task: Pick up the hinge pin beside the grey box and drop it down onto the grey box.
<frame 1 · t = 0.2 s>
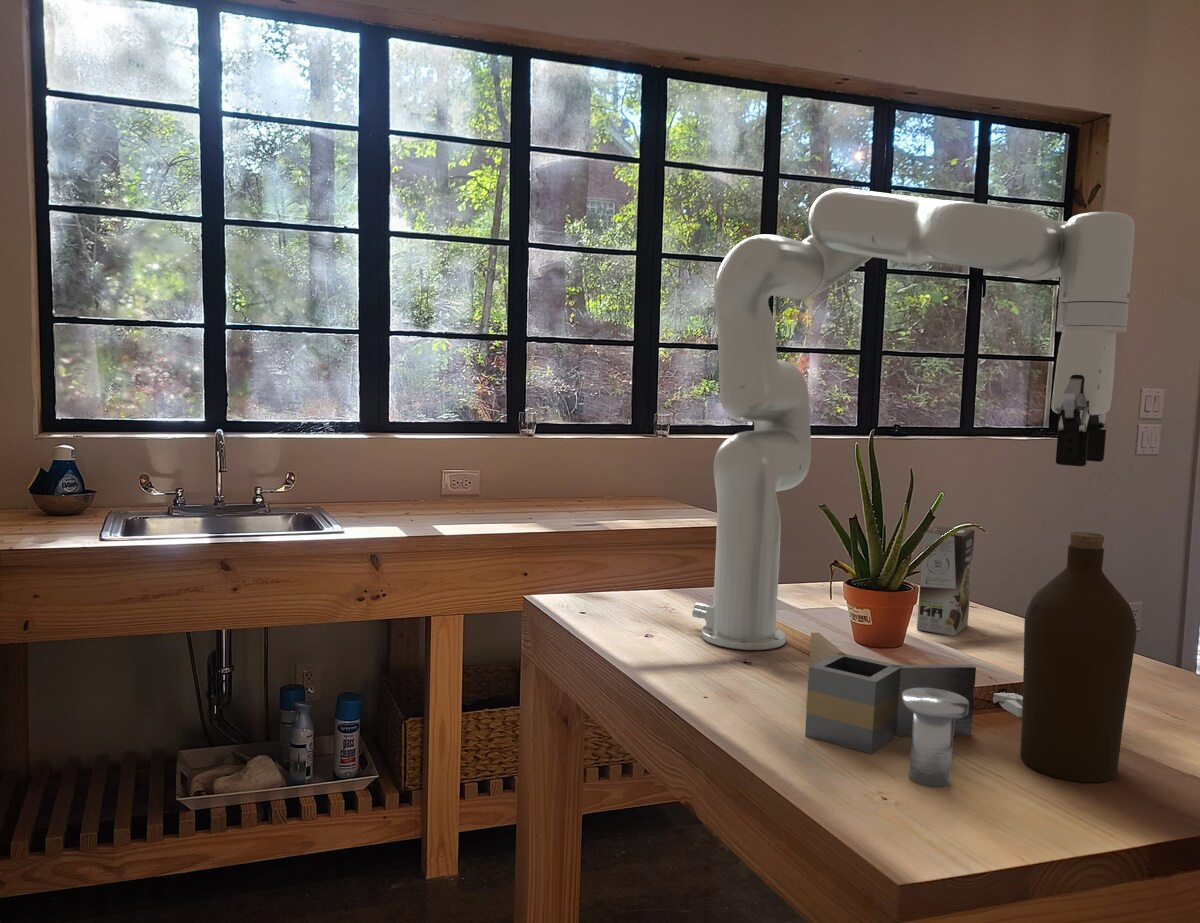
hand: (1080, 462, 120), 31 cm above the kitchen island, tool pointing down, fingers open, 9 cm apart
grey box: (852, 735, 113), on the kitchen island
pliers: (994, 700, 128), on the kitchen island
coffee box: (942, 629, 162), on the kitchen island
olive oil: (1068, 767, 106), on the kitchen island
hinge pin: (929, 779, 101), on the kitchen island
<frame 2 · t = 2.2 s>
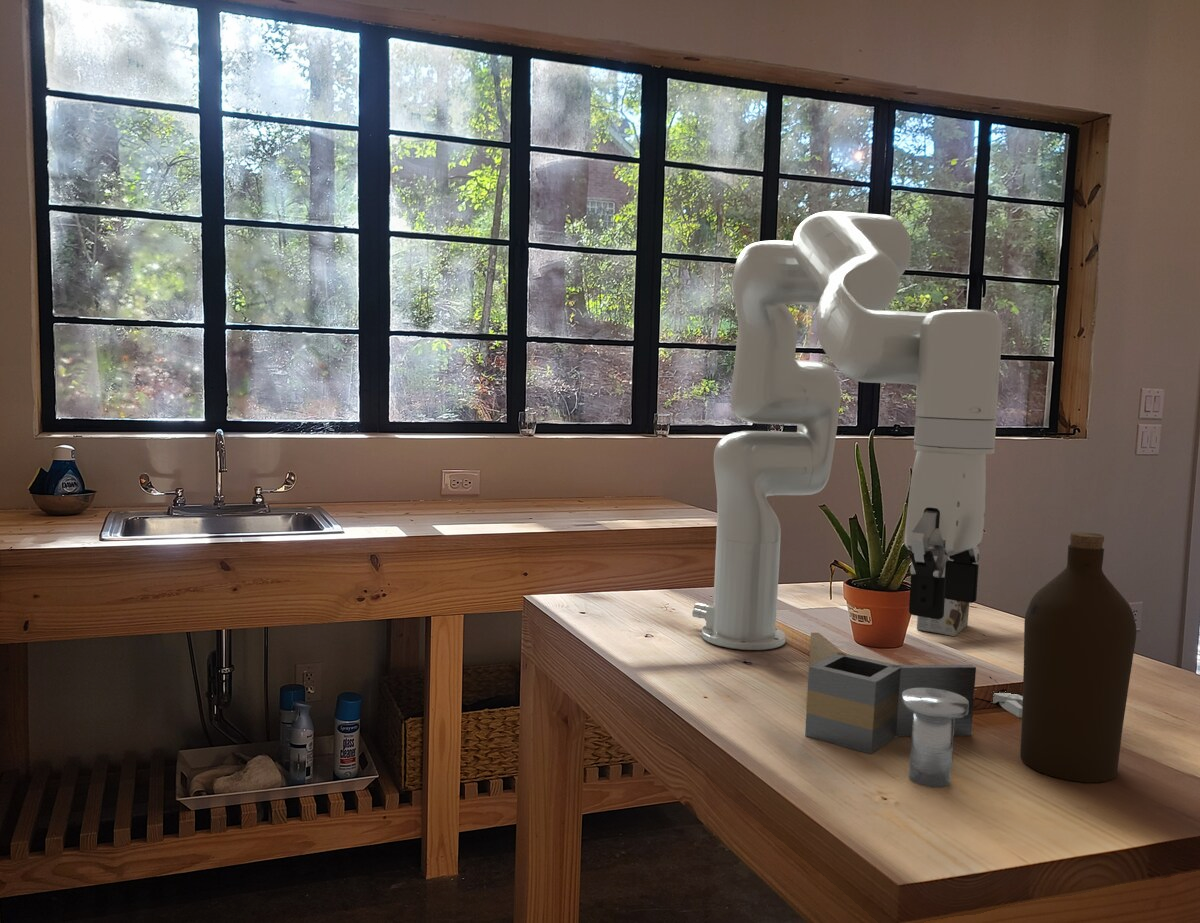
hand: (943, 608, 99), 18 cm above the kitchen island, tool pointing down, fingers open, 9 cm apart
nothing on the kitchen island moved.
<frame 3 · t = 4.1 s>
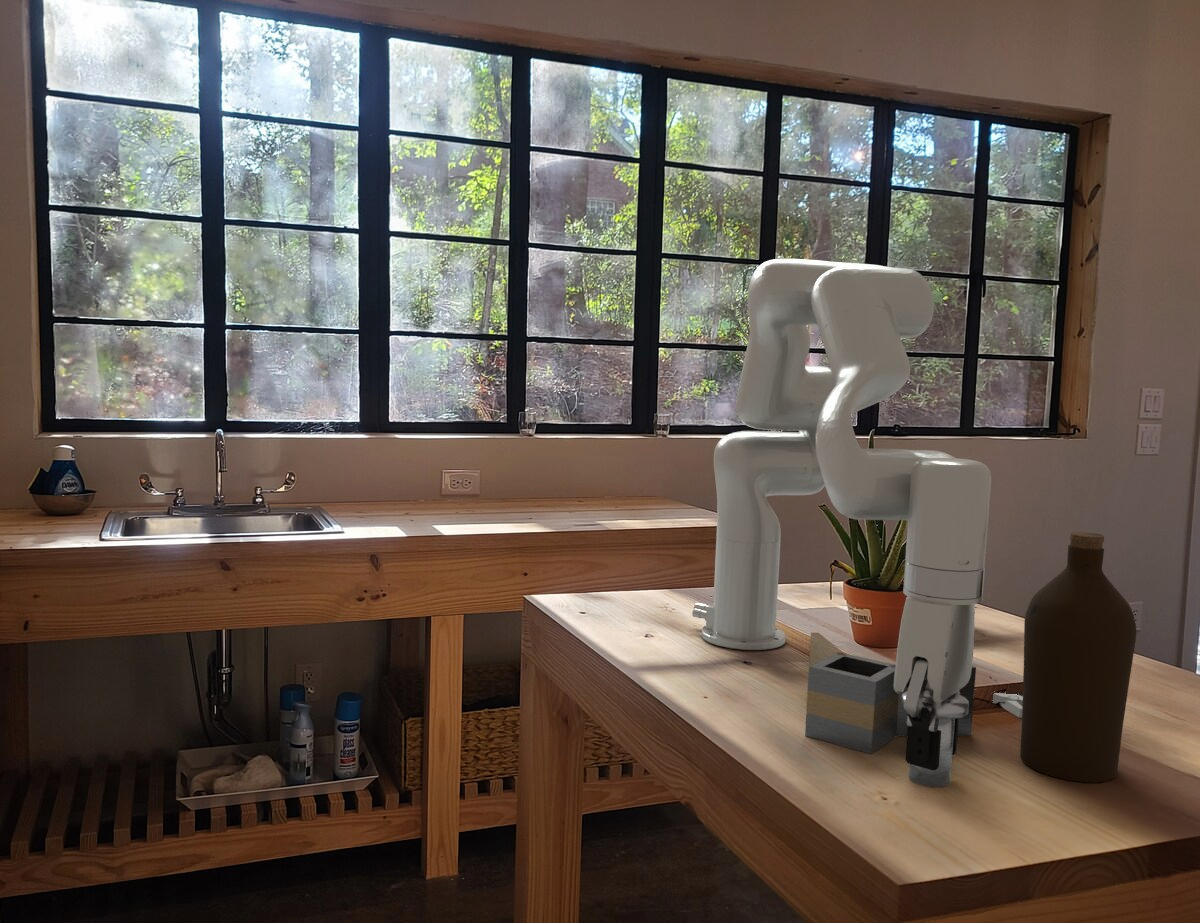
hand: (930, 756, 101), 2 cm above the kitchen island, tool pointing down, fingers closed on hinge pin, 4 cm apart
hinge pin: (929, 779, 101), on the kitchen island, touching gripper
everything else where it was.
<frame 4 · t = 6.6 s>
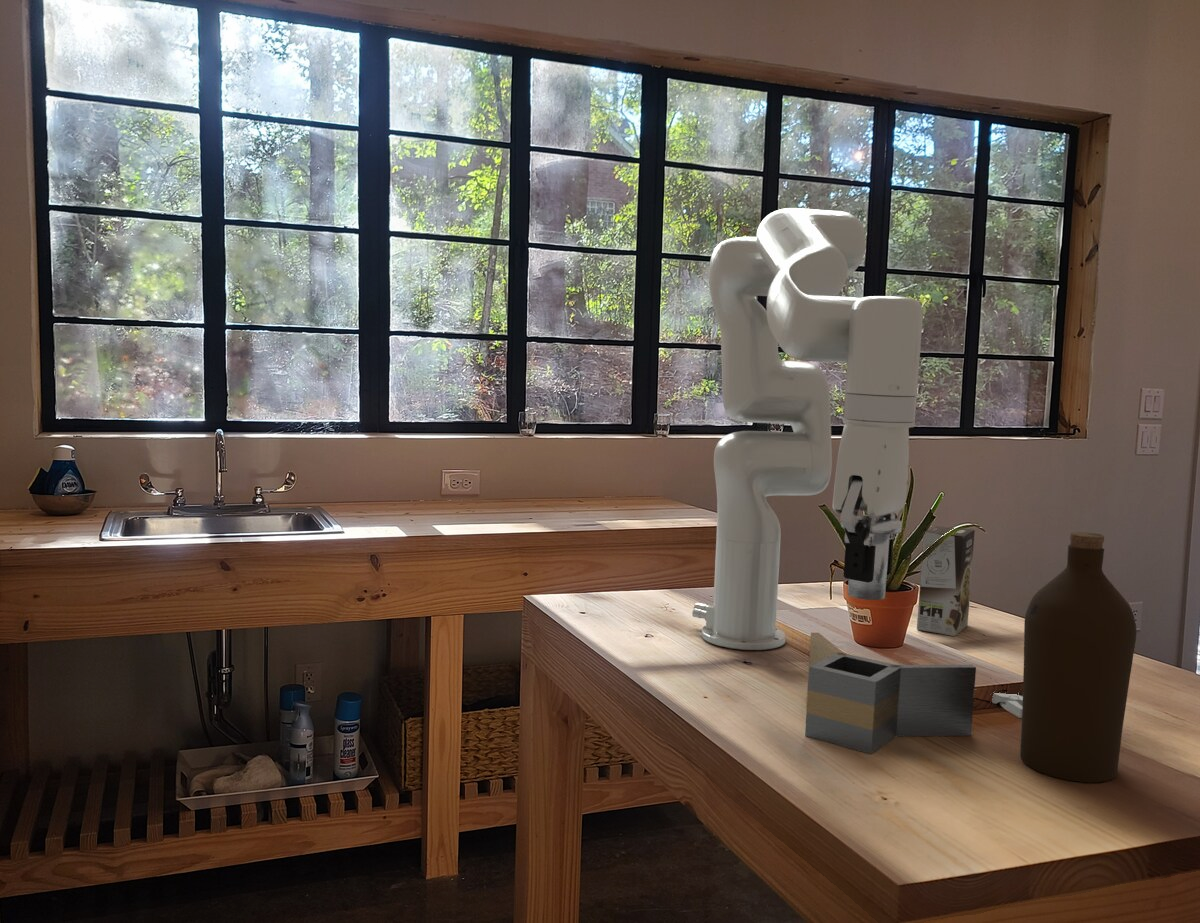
hand: (867, 574, 110), 19 cm above the kitchen island, tool pointing down, fingers closed on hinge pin, 4 cm apart
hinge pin: (866, 595, 110), point 16 cm above the kitchen island, touching gripper
everything else where it was.
when the fingers open (9 cm above the kitchen island, at t = 9.2 s): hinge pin drops 6 cm, resting on grey box.
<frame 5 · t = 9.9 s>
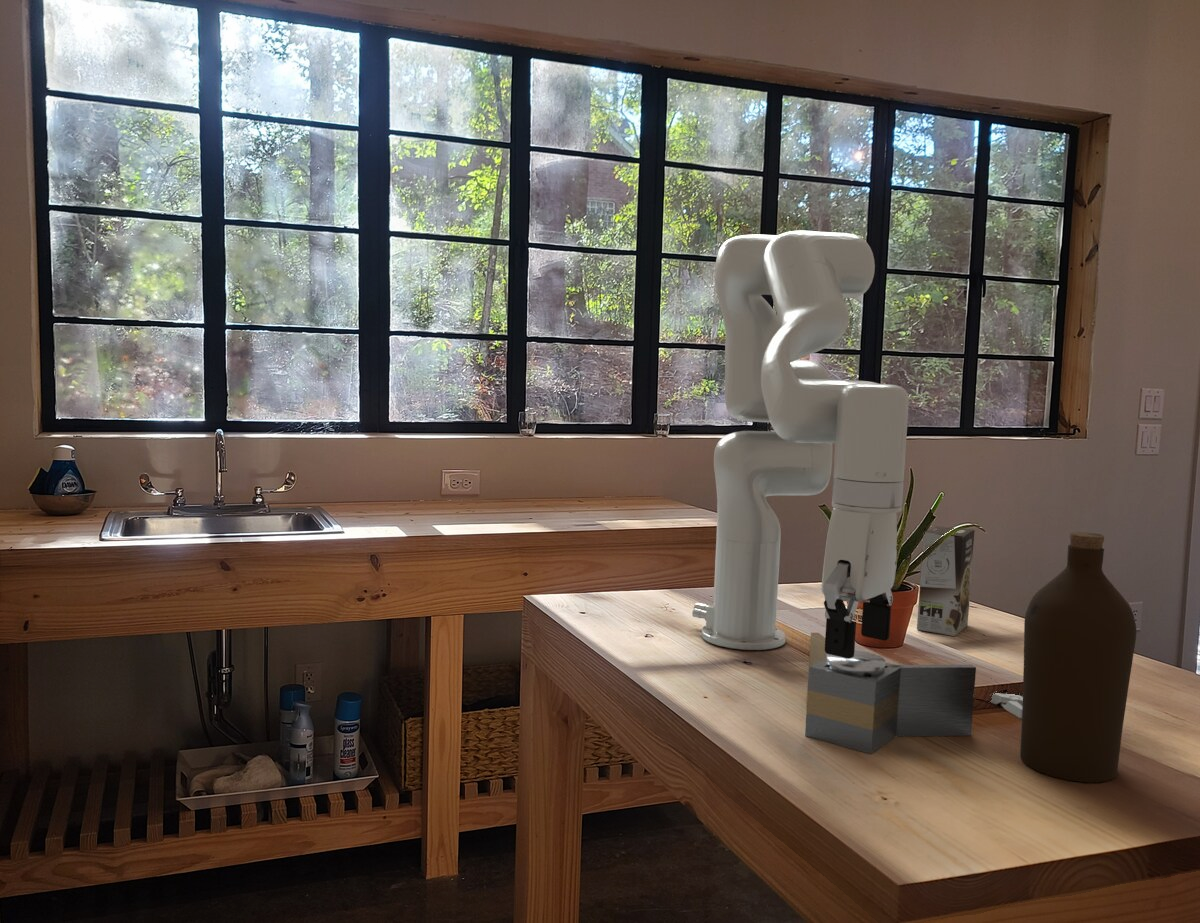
hand: (857, 646, 112), 10 cm above the kitchen island, tool pointing down, fingers open, 9 cm apart
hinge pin: (851, 731, 113), resting on grey box
everything else where it was.
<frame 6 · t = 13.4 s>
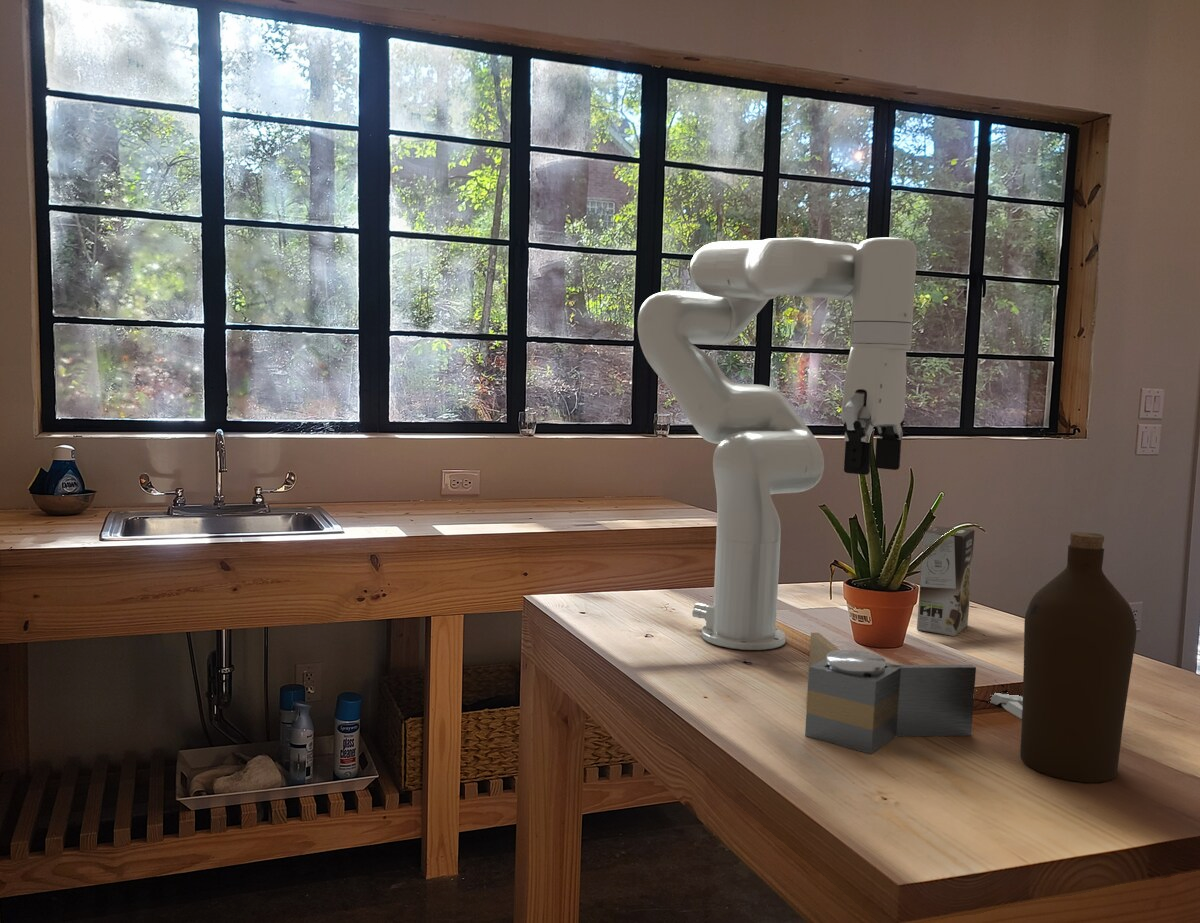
hand: (872, 471, 128), 28 cm above the kitchen island, tool pointing down, fingers open, 9 cm apart
nothing on the kitchen island moved.
at the end: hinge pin 0.2 cm off-centre on the grey box, point 0.5 cm above the grey box's base; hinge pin tilted 0°; the gripper is holding nothing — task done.
